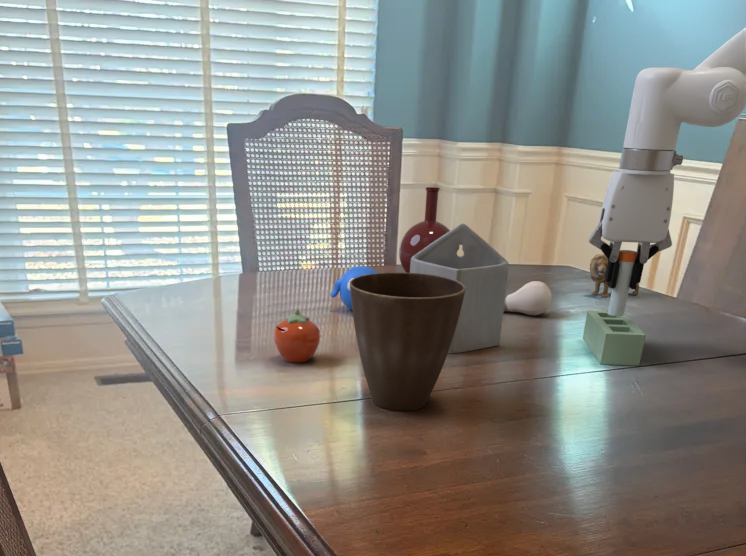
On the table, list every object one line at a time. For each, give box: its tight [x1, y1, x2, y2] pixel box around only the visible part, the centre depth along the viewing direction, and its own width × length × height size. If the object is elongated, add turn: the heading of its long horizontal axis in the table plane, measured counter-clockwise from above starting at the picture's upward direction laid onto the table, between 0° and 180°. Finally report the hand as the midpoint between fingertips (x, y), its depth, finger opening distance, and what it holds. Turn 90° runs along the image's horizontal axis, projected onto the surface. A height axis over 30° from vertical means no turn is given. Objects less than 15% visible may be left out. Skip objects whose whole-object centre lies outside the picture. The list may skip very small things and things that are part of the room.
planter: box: [410, 223, 510, 355], centre depth 127 cm, size 16×8×19 cm, turn 80°
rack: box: [582, 309, 647, 367], centre depth 130 cm, size 16×6×5 cm, turn 175°
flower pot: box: [350, 272, 466, 412], centre depth 103 cm, size 15×15×16 cm
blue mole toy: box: [330, 265, 378, 311], centre depth 150 cm, size 12×12×8 cm
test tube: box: [607, 249, 637, 316], centre depth 126 cm, size 3×3×10 cm
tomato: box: [273, 308, 321, 364], centre depth 122 cm, size 7×7×8 cm
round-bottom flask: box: [398, 186, 451, 273], centre depth 174 cm, size 13×13×20 cm
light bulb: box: [503, 280, 553, 316], centre depth 153 cm, size 7×7×11 cm
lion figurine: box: [589, 253, 640, 298], centre depth 169 cm, size 15×5×9 cm, turn 117°
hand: (621, 286), depth 126 cm, fingers closed on test tube, 2 cm apart
